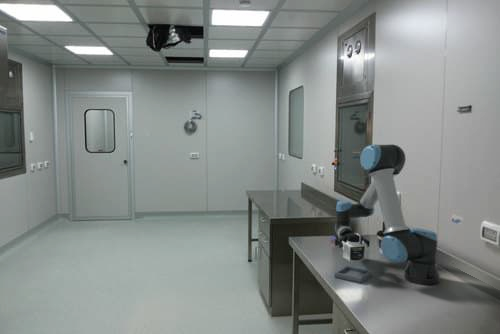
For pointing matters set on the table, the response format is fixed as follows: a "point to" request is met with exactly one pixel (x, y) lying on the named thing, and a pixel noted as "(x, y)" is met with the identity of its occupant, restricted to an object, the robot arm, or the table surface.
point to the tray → (353, 274)
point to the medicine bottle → (353, 248)
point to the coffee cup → (380, 239)
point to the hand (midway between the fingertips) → (355, 247)
